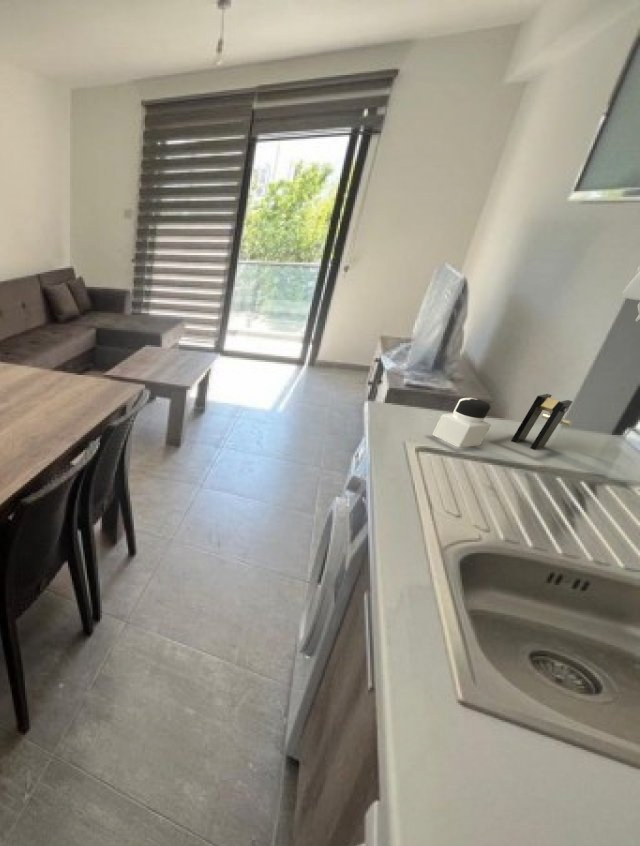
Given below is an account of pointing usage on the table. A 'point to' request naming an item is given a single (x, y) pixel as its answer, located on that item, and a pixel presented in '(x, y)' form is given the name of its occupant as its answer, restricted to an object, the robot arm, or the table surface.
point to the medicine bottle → (464, 423)
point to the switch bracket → (549, 425)
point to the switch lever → (550, 406)
